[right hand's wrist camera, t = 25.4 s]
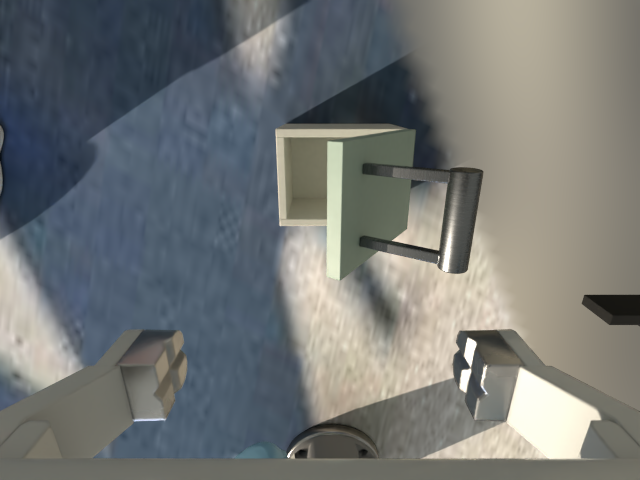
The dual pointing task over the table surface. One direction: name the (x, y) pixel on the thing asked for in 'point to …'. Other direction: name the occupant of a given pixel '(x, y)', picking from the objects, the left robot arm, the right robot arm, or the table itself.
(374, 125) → the chest
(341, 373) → the table surface
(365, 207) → the lid
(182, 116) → the table surface
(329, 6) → the table surface
